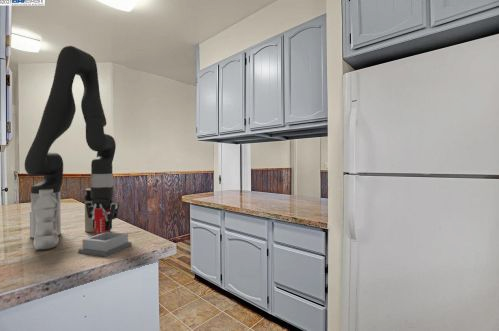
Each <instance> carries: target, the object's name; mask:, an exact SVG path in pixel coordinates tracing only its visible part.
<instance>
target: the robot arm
mask: <svg viewBox="0 0 499 331" xmlns="http://www.w3.org/2000/svg"><path fill="white" fill-rule="evenodd" d="M98 72H99V71H98V66H97V61H96V59H95V57H94V56H92V55H91V54H90V53H88V52H86V51H85V50H82V49H80V48H78V47H76V46H73V45H65V46H63V47H62V48H61V49H60V52H59V53H58V56H57V60H56V66H55V70H54V75H53V80H52V85H51V88H50V92H49V95H48V99H47V101H46V104H45V106H44V110H43V112H42V116H41V120H40V124H39V126H38V129H37V132H36V135H35V137H34V138H33V141H32V144H31V146H30V148H29V150H28V151H27V155H26V156H25V157H26V158H25V160H24V170H25V172H26V173H27V174H28V175H29V176H43V179H42V180H41V181H39V182H37V183H36V184H33V185H32V186H30V212H29V237H31V238H32V239H34V237H35V232H36V217H35V211H34V204H35V203H36V201H37V200H38V199H39V198H40V196H39V190H43V189H53V193H54V195H52V196H53V197H54V198H55V199H56V200H57V202H58V204H59V206H58V212H57V220H56V221H57V222H56V225H57V233H58V236H59V235H60V234H61V233H62V229H61V228H62V227H61V226H62V225H61V224H62V220H61V219H62V216H61V215H62V213H61V212H62V210H61V207H62V206H61V202H62V201H61V199H62V198H61V193H62V192H61V188H62V186H63V182H64V181H63V179H64V178H63V177H64V176H63V175H64V161H63V158H62V156H61V155H60V154H59V153H57V152H53V151H51V152H49V151H50V148H51V147H52V145H53V144H54V143H55V141H57V139H58V138H60V137H61V136H63V134H65V132H67V131H68V130H69V129H70V127H71V126H72V124H73V120H74V118H75V114H76V111H77V110H76V109H77V107H76V103H75V101H76V100H75V98H74V93H73V84H74V81H75V78H76V76H80V79H81V81H82V85H83V93H82V98H81V103H80V105H81V106H80V107H81V112H82V113H81V114H82V115H83V117H82V118H83V119H84V123H85V141H86V144H87V146H88V148H89V149H90V150H92V151H93V152H96V157H95V158H93V159H92V160H91V163H90V164H91V165H90V166H91V167H90V168H91V173H90V174H91V175H90V188H91V198H92V199H93V201H92V202H89V203H86V209H87V214H88V218H91V219H92V220H93V229H94V230H95V227H94V210H95V208H102V210H103V216H105V220H106V221H105V231H109V230H110V231H112V228H113V220H115V219H117V218H118V214H119V208H120V203H118V202H117V203H114V202H113V197H114V176H113V175H114V174H113V162H114V158H115V154H116V148H117V147H116V146H117V144H116V140H115V138H114V137H113V136H112V135H110V134H107V133H105V130H104V128H105V127H106V126H107V119H106V114H105V110H104V109H103V104H102V100H101V91H100V84H99V73H98ZM109 209H110V212H106V211H107V210H109ZM105 210H106V211H105ZM91 211H92V214H91ZM108 214H109V217H108Z"/></svg>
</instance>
